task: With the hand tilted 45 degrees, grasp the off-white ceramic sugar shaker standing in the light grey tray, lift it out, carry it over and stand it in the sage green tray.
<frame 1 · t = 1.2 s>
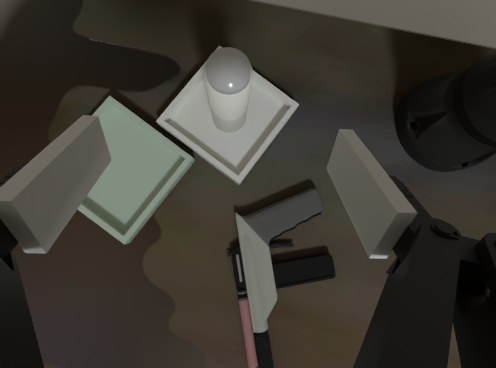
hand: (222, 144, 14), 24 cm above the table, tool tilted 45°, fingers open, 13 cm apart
sugar shaker: (229, 116, 39), point 1 cm above the table, touching grey tray
green tray: (122, 170, 37), on the table
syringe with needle: (285, 298, 38), on the table
grey tray: (229, 117, 39), on the table
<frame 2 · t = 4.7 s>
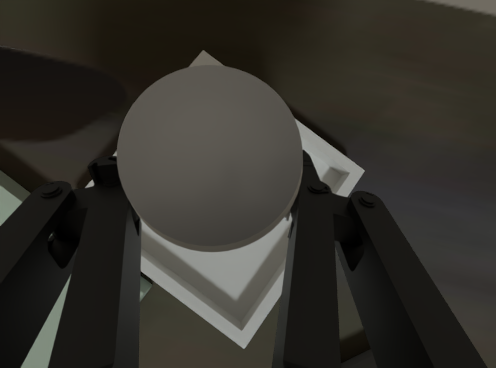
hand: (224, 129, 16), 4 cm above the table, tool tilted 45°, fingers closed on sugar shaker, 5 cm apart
sugar shaker: (222, 192, 19), point 1 cm above the table, touching grey tray, gripper
grey tray: (223, 192, 20), on the table
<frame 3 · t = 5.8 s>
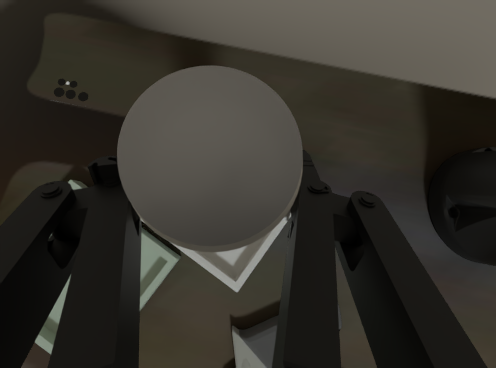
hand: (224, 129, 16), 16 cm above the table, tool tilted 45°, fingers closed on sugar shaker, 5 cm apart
sugar shaker: (223, 192, 19), point 12 cm above the table, touching gripper
green tray: (88, 271, 29), on the table
grey tray: (224, 199, 31), on the table
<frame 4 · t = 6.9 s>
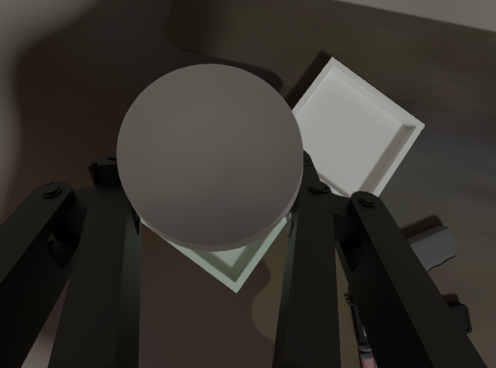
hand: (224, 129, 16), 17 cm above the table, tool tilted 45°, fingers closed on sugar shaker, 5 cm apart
sugar shaker: (223, 192, 19), point 13 cm above the table, touching gripper
green tray: (224, 202, 32), on the table
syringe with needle: (409, 354, 33), on the table
grey tray: (340, 139, 34), on the table
when the fingers open (6 cm above the table, at t = 9.3 s): sugar shaker drops 1 cm, resting on green tray.
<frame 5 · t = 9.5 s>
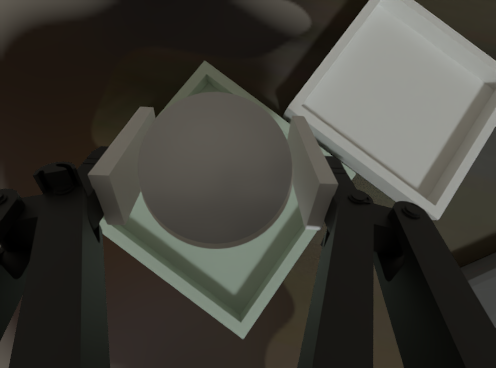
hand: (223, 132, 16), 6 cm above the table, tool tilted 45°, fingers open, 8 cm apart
sugar shaker: (223, 193, 20), point 1 cm above the table, touching green tray
green tray: (223, 194, 21), on the table
grey tray: (395, 103, 23), on the table
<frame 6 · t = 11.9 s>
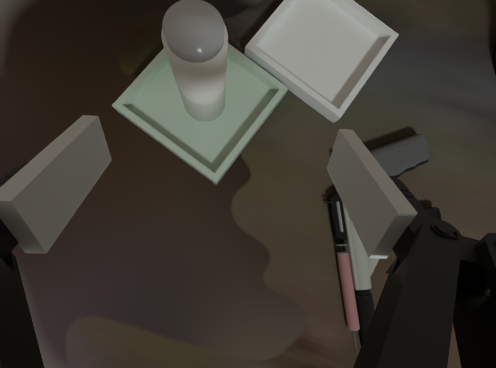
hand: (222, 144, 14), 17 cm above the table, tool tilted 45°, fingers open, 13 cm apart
sugar shaker: (204, 101, 32), point 1 cm above the table, touching green tray
green tray: (204, 103, 33), on the table
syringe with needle: (384, 256, 33), on the table
grey tray: (319, 50, 35), on the table
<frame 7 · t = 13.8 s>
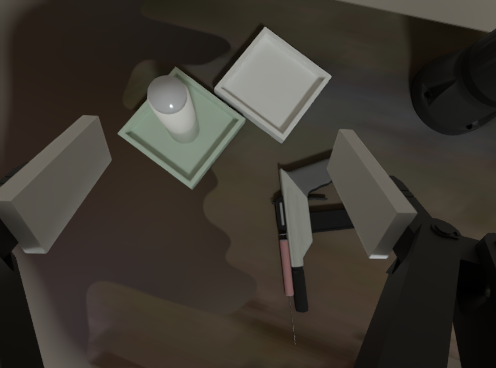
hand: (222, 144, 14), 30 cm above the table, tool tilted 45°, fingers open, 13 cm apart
sugar shaker: (184, 129, 44), point 1 cm above the table, touching green tray
green tray: (185, 129, 44), on the table
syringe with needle: (317, 244, 45), on the table
grey tray: (272, 87, 47), on the table
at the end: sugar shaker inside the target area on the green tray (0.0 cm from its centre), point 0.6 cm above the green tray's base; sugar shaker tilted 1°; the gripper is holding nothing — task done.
